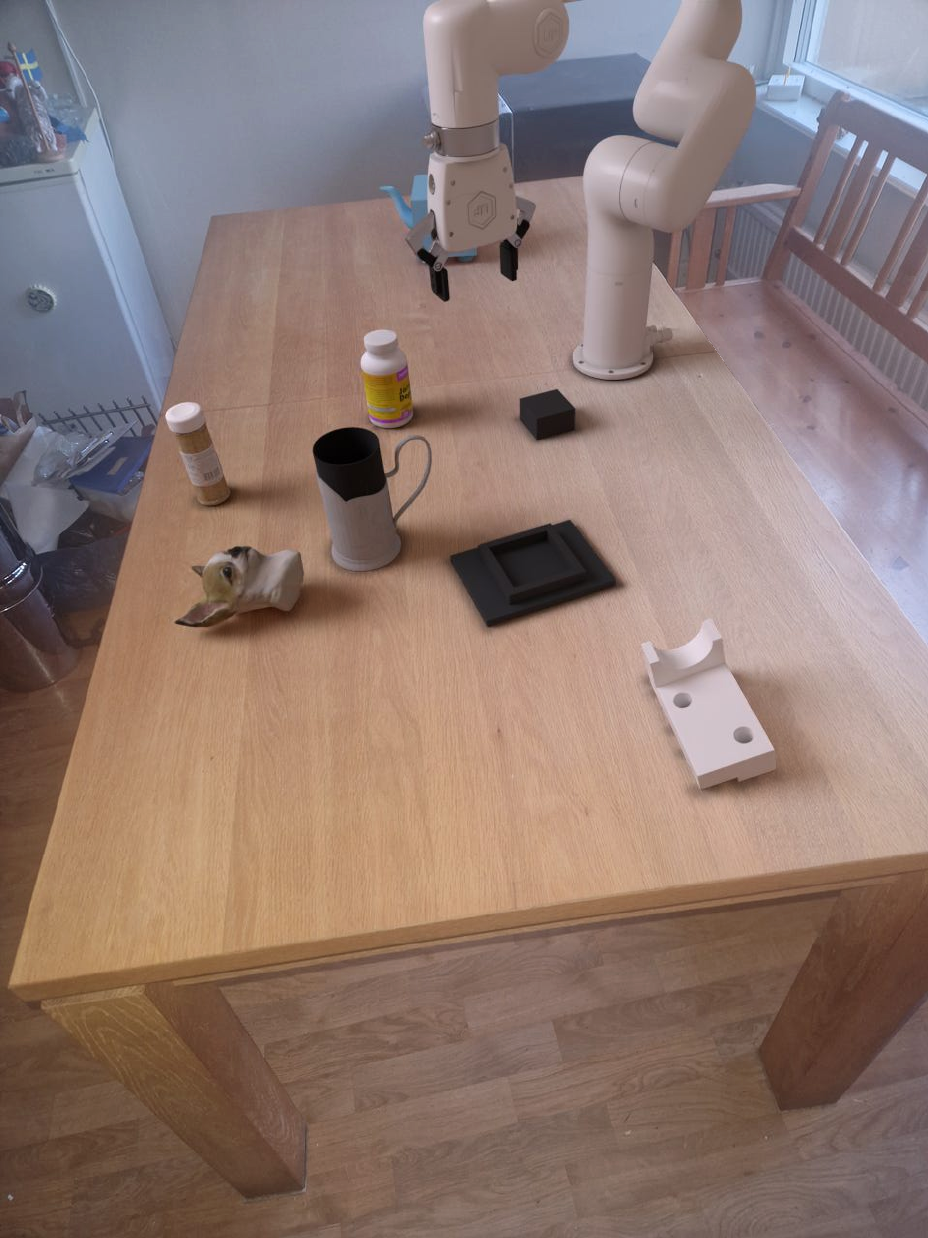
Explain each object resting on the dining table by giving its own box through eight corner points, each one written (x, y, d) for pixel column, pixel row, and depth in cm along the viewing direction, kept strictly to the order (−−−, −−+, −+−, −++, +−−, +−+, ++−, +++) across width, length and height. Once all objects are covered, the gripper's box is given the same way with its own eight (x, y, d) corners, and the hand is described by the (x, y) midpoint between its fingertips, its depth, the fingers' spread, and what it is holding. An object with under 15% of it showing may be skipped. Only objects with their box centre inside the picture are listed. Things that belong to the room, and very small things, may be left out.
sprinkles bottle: (226, 483, 111) (196, 396, 101) (234, 500, 108) (205, 413, 98) (194, 493, 110) (161, 407, 100) (201, 511, 107) (168, 424, 97)
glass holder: (322, 537, 101) (297, 436, 91) (426, 505, 105) (414, 403, 94) (343, 579, 96) (319, 477, 85) (452, 544, 99) (442, 440, 88)
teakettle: (446, 279, 153) (440, 197, 142) (383, 255, 163) (373, 176, 152) (514, 247, 161) (512, 167, 151) (449, 226, 171) (444, 150, 161)
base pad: (569, 525, 100) (570, 509, 98) (615, 585, 92) (617, 569, 90) (450, 561, 97) (448, 545, 95) (487, 627, 89) (486, 611, 87)
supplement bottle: (407, 431, 117) (396, 349, 108) (364, 428, 118) (350, 347, 109) (418, 406, 122) (409, 326, 112) (376, 404, 123) (364, 324, 114)
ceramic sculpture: (289, 574, 84) (152, 589, 85) (311, 630, 90) (182, 644, 91) (301, 511, 91) (174, 526, 92) (320, 567, 97) (201, 581, 98)
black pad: (556, 409, 119) (557, 388, 116) (574, 429, 115) (575, 408, 112) (519, 419, 117) (519, 398, 115) (536, 440, 113) (536, 418, 111)
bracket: (652, 688, 83) (640, 644, 77) (717, 664, 82) (711, 618, 76) (701, 794, 74) (692, 753, 68) (776, 769, 73) (772, 725, 68)
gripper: (410, 162, 85) (427, 317, 97) (549, 128, 90) (549, 279, 102) (383, 145, 90) (402, 294, 102) (516, 113, 94) (519, 260, 107)
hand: (475, 287), depth 102 cm, fingers open, 9 cm apart
